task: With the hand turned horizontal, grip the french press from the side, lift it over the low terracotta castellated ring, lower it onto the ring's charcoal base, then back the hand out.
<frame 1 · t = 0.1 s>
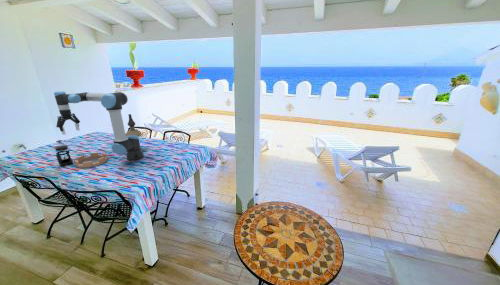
hand: (71, 132, 186), 28 cm above the table, tool pointing down, fingers open, 13 cm apart
french press: (66, 164, 186), on the table
castellated ring: (92, 162, 190), on the table
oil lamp: (136, 150, 220), on the table
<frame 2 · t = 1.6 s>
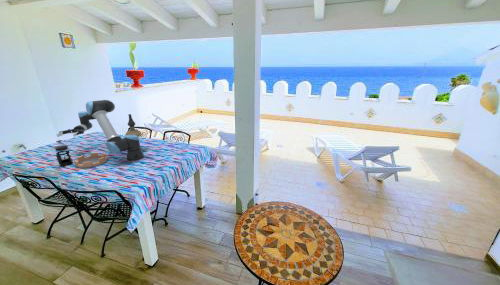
hand: (65, 135, 186), 25 cm above the table, tool horizontal, fingers open, 13 cm apart
nothing on the table moved.
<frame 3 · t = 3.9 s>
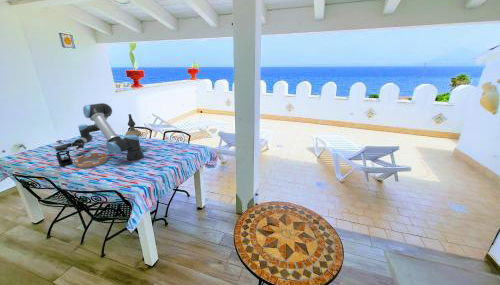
hand: (65, 149, 186), 12 cm above the table, tool horizontal, fingers open, 13 cm apart
nothing on the table moved.
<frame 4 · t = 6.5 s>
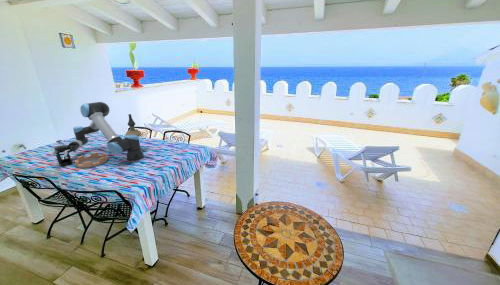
hand: (58, 153, 178), 13 cm above the table, tool horizontal, fingers closed on french press, 9 cm apart
french press: (66, 164, 186), on the table, touching gripper
everything else where it was.
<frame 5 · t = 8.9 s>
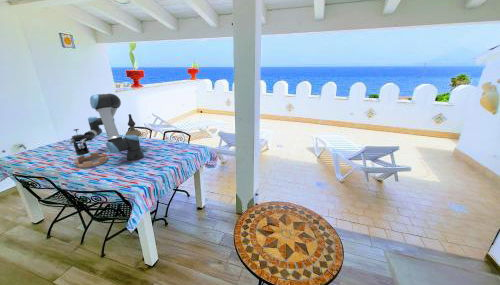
hand: (75, 142, 178), 22 cm above the table, tool horizontal, fingers closed on french press, 9 cm apart
french press: (82, 153, 187), point 9 cm above the table, touching gripper
everything else where it was.
when the fingers open (15 cm above the table, at t = 11.6 s): french press drops 1 cm, resting on castellated ring.
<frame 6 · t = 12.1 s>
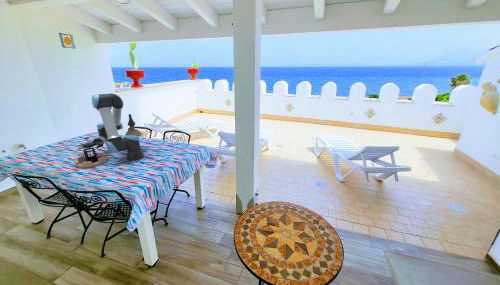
hand: (86, 149, 182), 15 cm above the table, tool horizontal, fingers open, 13 cm apart
french press: (92, 161, 190), point 1 cm above the table, touching castellated ring
everything else where it was.
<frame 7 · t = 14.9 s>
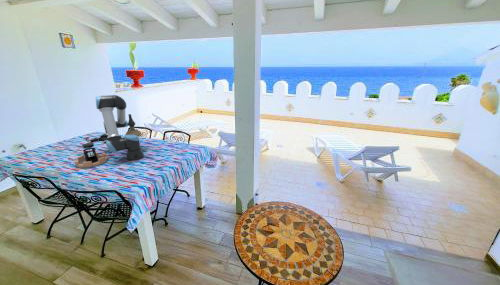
hand: (94, 144, 194), 15 cm above the table, tool horizontal, fingers open, 13 cm apart
nothing on the table moved.
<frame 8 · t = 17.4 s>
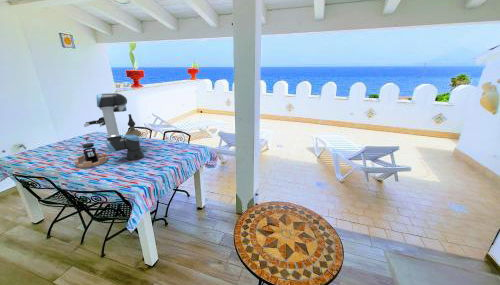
hand: (92, 125, 194), 32 cm above the table, tool horizontal, fingers open, 13 cm apart
nothing on the table moved.
at the end: french press inside the target area on the castellated ring (0.2 cm from its centre), point 0.8 cm above the castellated ring's base; french press tilted 0°; the gripper is holding nothing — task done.
